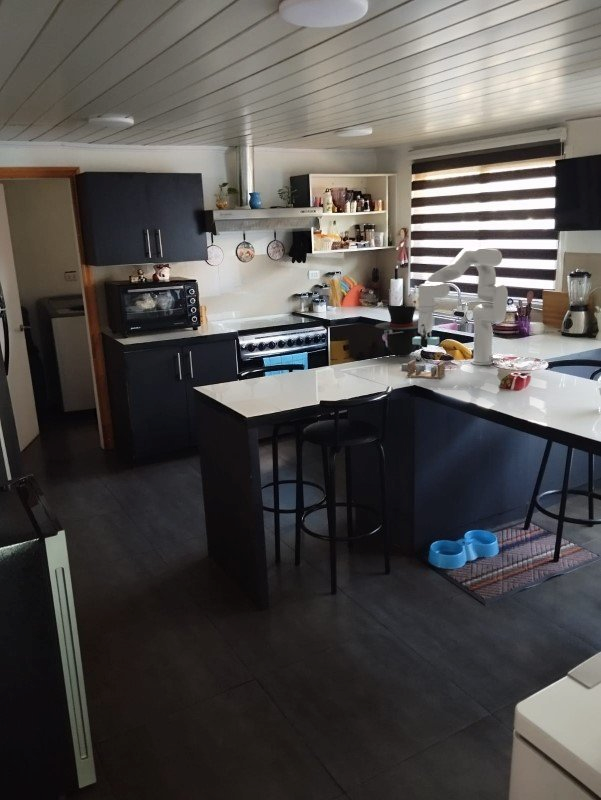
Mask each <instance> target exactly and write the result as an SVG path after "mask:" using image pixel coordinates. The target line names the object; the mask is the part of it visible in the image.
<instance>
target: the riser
mask: <svg viewBox="0 0 601 800" xmlns="http://www.w3.org/2000/svg"><path fill="white" fill-rule="evenodd" d="M418 365H421V372H422V371H424V370H425V371H426V367H427V366H426V364H419V363H415V370H416V366H418ZM406 370H408V363H402V364H401V371H406ZM425 371H424V372H425Z"/></svg>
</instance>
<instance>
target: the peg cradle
mask: <svg viewBox="0 0 601 800" xmlns="http://www.w3.org/2000/svg"><path fill="white" fill-rule="evenodd" d="M445 363H446V361H441V362H440V363H438V364H437V365H433V366H431V367H430V371H429V372H428V371H424V372H422V371H421V365H418V366H416V371H415V364H416V359H412V360H410V361H409V362H407V364H408V371H407V375H406V377H407V376H411V377H410V378H415V377H422V378H421V379H430V378H434V379H433V380H441V379H443V377H444V378H445V376H446V373H445V371H446V370H445V367H446V366H445Z"/></svg>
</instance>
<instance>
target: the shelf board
mask: <svg viewBox="0 0 601 800" xmlns="http://www.w3.org/2000/svg"><path fill="white" fill-rule="evenodd" d="M412 344H417V345H416V346H419V345H420V346H421V336H417V337H414V338H412ZM439 344H440V337H439V336H431V337H427V346H437V345H439Z"/></svg>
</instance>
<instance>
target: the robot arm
mask: <svg viewBox="0 0 601 800" xmlns="http://www.w3.org/2000/svg"><path fill="white" fill-rule="evenodd" d="M502 260H503V253H502V252H501V251H500V250H499V249H497V248H486V247H474V246H473V247H464V248H462V249H461V250H460V251H459V252H458V253H457V255H456V256H455V257H454V258H453V259H452V260H451V261H450V262H449V264H447V265H446V266H444V267H442V268H441V269H439V270H437V271H435V272H434V273H432V274H431V275H430V276H428V278H427V279H426V280H425V281H424V283H420V284H419V285H418V289H417V290H418V293H417V294H418V299H417V300H418V309H417V310H418V321H417V322H418V329H417V333H418V334H419V335H420V337H421V345H420V348H428V345H427V337H432V331H433V327H434V319H433V317H434V316H433V314H434V313H435V298H437V299H442V298H445V297H447V296H448V295H449V293H450V292H451V291H450V286H449V284H448V283H447V282H450V281H454V280H457V279H459V278H460V277H462V276H463V275H464V273H465V272H466V271H467V270H468V269H469V267H471V266H472V265H473V266H474V267H475V268H476V270H477V272H478V284H477V286H478V287H477V299H478V300H479V301H482V302H486V303H487V302H489V303H492V304H488V303H487V304H486V303H481V304H477V305H476V306H474V307H473V309H472V319H473V324H474V326H473V327H474V328H473V331H474V332H473V359H470V364H472V365H475V366H488V365H489V366H490V365H493V364H492V363H493V361H495V362H496V361H497V362H499V361H501V357H499V356H494V353H493V338H494V337H493V335H494V333H493V332H494V331H493V330H494V329H493V326H492V324H496V325H497V324H502V323H503V322H504V320H505V318H506V316H507V307H508V306H507V305H508V296H509V295H508V294H509V293H508V291H509V290H508V288H507V287H506V285H504V284H502V283H496V275H497V273H496V269H495V267H498V266H499V265H500V264H501V263H502Z"/></svg>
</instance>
